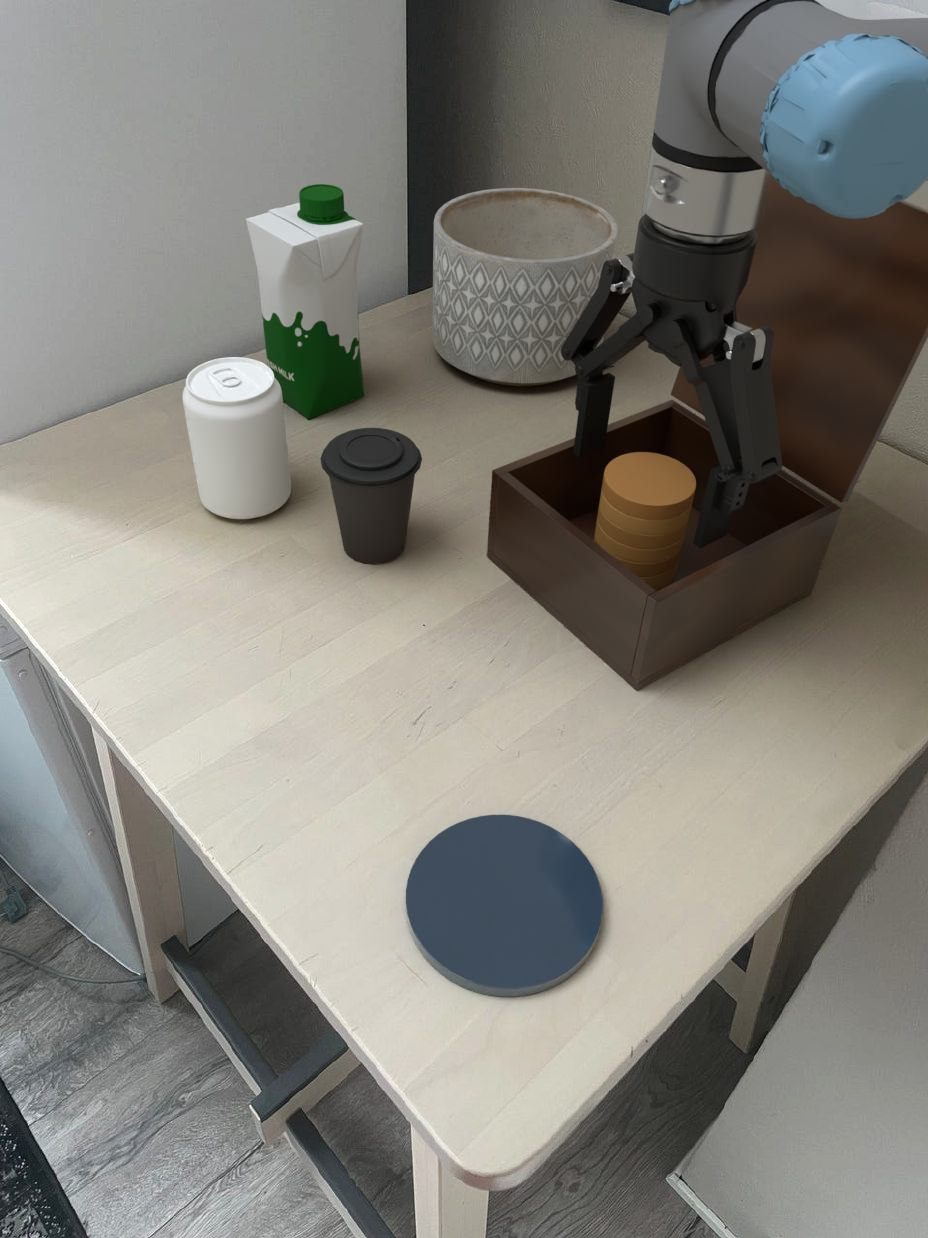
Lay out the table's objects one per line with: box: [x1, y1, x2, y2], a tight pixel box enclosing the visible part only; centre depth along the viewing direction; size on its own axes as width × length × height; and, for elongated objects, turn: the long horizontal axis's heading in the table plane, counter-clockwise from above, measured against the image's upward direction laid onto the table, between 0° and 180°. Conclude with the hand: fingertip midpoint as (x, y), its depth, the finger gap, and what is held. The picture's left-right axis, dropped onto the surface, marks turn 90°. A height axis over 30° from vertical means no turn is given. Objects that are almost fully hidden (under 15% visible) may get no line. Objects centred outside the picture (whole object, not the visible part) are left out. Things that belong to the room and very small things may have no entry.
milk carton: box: [245, 183, 365, 420], centre depth 99 cm, size 9×9×20 cm
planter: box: [431, 187, 619, 387], centre depth 109 cm, size 19×19×14 cm
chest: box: [486, 399, 843, 691], centre depth 83 cm, size 20×19×9 cm
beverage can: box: [182, 356, 292, 520], centre depth 88 cm, size 8×8×12 cm
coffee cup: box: [320, 427, 423, 565], centre depth 85 cm, size 8×8×10 cm
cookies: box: [594, 452, 696, 592], centre depth 82 cm, size 7×7×10 cm
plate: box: [405, 814, 604, 998], centre depth 63 cm, size 12×12×1 cm
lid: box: [670, 176, 928, 504], centre depth 80 cm, size 21×19×5 cm
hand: (646, 493), depth 79 cm, fingers open, 13 cm apart
